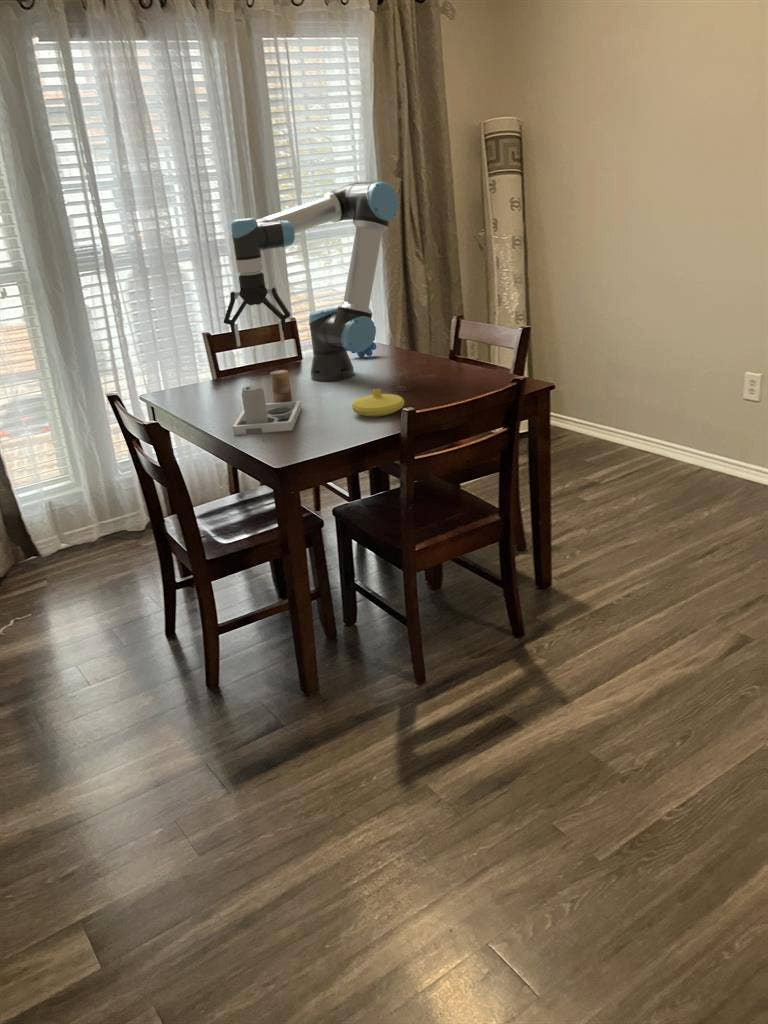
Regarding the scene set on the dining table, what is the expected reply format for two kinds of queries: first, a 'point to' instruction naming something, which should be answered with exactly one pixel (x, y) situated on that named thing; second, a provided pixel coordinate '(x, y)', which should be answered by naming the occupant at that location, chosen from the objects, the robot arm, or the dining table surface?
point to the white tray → (271, 419)
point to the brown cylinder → (281, 386)
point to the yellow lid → (378, 404)
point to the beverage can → (254, 405)
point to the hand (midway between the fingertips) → (260, 343)
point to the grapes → (367, 350)
